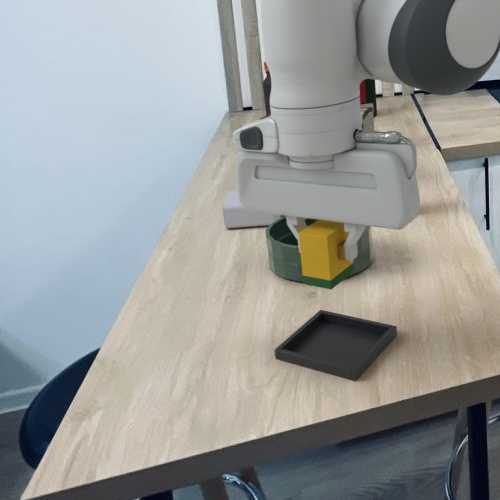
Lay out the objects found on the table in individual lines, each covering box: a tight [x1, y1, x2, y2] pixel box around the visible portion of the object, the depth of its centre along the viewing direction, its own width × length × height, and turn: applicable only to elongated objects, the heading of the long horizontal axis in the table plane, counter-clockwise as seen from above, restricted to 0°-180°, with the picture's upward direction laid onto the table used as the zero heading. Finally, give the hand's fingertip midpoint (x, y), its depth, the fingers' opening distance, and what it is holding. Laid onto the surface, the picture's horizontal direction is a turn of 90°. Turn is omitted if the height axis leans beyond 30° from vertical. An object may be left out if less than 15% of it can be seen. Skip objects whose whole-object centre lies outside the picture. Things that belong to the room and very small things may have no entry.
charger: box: [222, 189, 283, 229], centre depth 118 cm, size 5×9×15 cm
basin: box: [265, 215, 374, 282], centre depth 97 cm, size 15×15×6 cm
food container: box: [360, 104, 375, 131], centre depth 151 cm, size 12×6×10 cm, turn 159°
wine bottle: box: [359, 79, 378, 118], centre depth 181 cm, size 8×10×30 cm
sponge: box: [299, 220, 354, 290], centre depth 71 cm, size 4×5×6 cm
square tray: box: [273, 309, 398, 382], centre depth 75 cm, size 10×10×2 cm
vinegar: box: [262, 60, 272, 116], centre depth 172 cm, size 7×7×20 cm
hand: (327, 255), depth 71 cm, fingers closed on sponge, 3 cm apart
